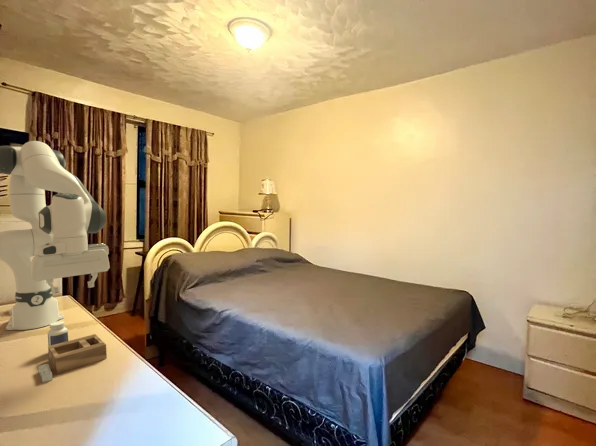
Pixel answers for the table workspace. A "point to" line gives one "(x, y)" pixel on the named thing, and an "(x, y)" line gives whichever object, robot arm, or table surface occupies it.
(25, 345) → the table surface
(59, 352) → the wooden compartment tray
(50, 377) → the slim grey peg
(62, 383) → the table surface
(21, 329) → the robot arm
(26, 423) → the table surface
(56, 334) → the pill bottle
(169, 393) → the table surface
